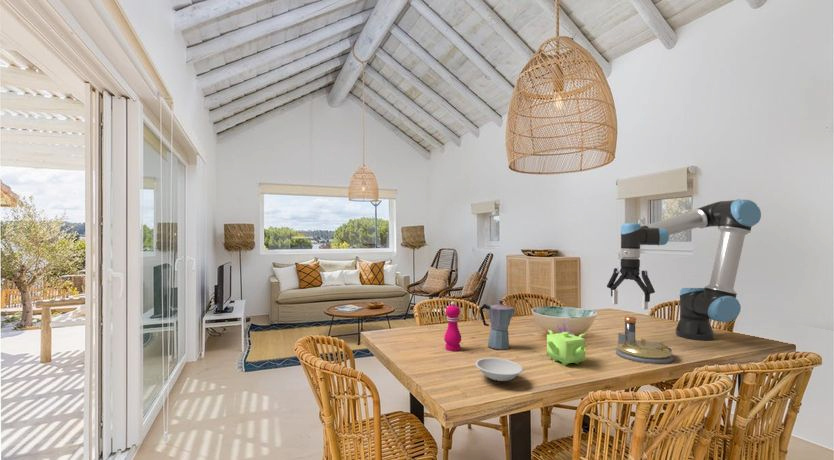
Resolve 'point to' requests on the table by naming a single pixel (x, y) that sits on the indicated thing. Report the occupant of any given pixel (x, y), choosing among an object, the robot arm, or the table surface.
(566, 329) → the lily
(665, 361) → the base plate
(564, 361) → the green animal planter
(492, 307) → the moka pot
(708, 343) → the table surface
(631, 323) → the pin
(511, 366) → the dish
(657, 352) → the gold and gray disc
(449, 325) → the pepper mill
